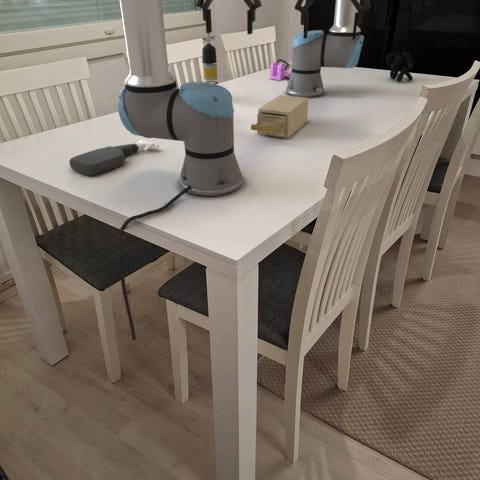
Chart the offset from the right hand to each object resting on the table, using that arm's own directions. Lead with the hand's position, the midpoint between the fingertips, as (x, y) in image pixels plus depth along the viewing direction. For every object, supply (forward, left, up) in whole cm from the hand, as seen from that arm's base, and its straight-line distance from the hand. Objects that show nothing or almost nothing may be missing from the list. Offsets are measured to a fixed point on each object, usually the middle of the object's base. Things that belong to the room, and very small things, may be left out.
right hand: (329, 38), depth 127 cm
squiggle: (-80, +25, -28) cm, 89 cm away
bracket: (-76, -27, -28) cm, 86 cm away
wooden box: (-3, -13, -28) cm, 31 cm away
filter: (-32, -48, -28) cm, 64 cm away
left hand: (-5, -31, 0) cm, 32 cm away
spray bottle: (+35, -53, -28) cm, 69 cm away
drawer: (+3, -14, -27) cm, 30 cm away
